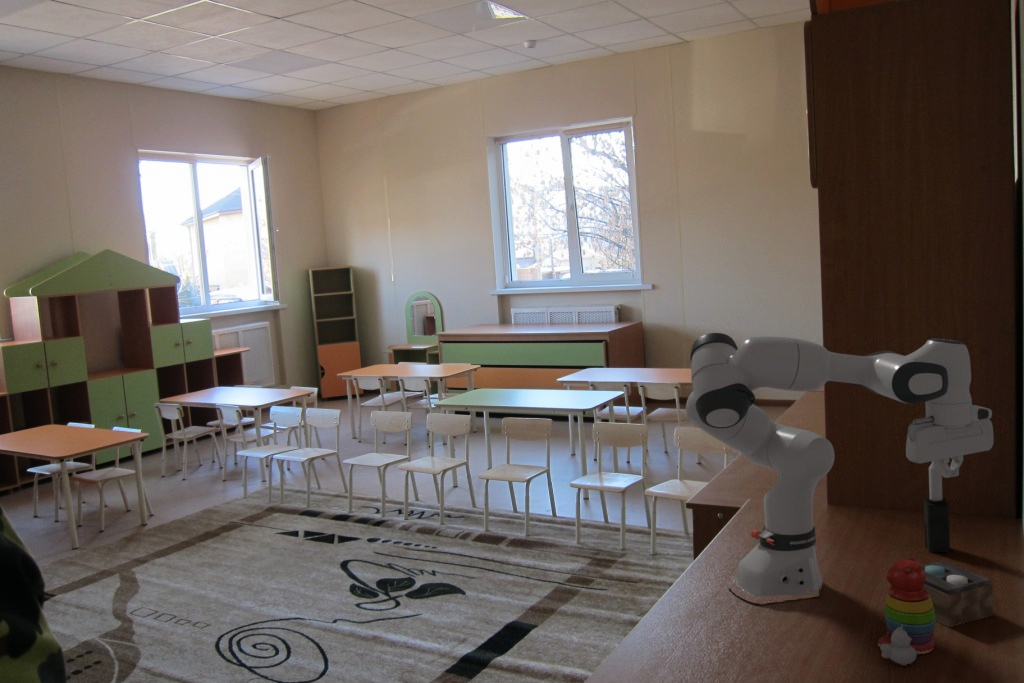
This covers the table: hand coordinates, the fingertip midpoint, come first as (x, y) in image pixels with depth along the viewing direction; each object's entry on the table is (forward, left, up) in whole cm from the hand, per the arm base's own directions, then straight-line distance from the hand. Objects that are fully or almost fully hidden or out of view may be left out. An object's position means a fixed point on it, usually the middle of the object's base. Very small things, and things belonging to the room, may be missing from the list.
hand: (950, 476), depth 184 cm
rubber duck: (-27, -13, -30) cm, 42 cm away
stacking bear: (-20, -8, -30) cm, 37 cm away
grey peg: (-2, -3, -30) cm, 30 cm away
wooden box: (-2, 0, -30) cm, 30 cm away
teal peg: (-2, +3, -30) cm, 30 cm away
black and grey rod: (+22, +28, -30) cm, 47 cm away
